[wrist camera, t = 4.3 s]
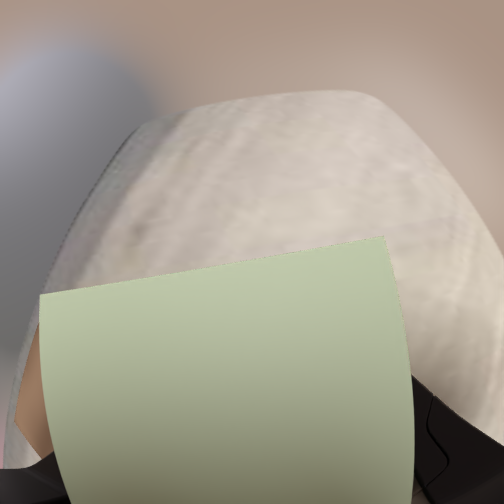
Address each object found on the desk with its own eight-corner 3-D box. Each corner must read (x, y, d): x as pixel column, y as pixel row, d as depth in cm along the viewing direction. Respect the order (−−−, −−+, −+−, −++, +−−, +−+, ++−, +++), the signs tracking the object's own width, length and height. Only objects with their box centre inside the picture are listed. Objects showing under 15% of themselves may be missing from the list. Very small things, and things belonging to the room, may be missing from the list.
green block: (321, 323, 14) (383, 235, 3) (332, 407, 12) (397, 573, 1) (236, 336, 14) (40, 295, 3) (246, 417, 13) (93, 550, 2)
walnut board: (168, 413, 13) (150, 421, 12) (118, 510, 11) (103, 520, 9) (60, 319, 17) (41, 315, 15) (30, 420, 15) (14, 421, 13)
